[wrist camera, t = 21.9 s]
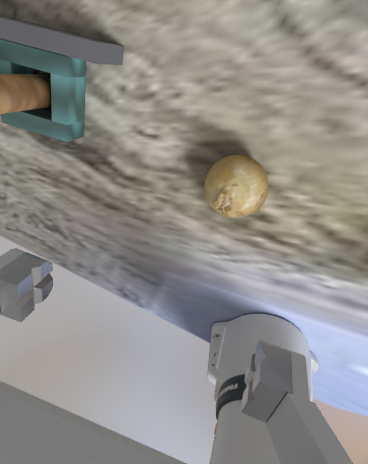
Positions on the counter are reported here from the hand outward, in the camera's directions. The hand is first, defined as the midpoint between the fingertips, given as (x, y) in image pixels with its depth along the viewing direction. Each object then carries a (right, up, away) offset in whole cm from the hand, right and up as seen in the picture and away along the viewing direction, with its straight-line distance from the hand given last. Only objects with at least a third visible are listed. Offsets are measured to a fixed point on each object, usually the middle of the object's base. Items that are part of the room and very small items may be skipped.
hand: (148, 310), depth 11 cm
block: (-17, +22, +30) cm, 41 cm away
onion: (+9, +10, +29) cm, 32 cm away
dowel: (-17, +22, +30) cm, 41 cm away
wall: (-16, +28, +27) cm, 42 cm away
